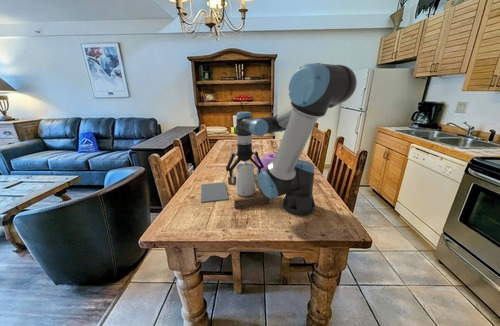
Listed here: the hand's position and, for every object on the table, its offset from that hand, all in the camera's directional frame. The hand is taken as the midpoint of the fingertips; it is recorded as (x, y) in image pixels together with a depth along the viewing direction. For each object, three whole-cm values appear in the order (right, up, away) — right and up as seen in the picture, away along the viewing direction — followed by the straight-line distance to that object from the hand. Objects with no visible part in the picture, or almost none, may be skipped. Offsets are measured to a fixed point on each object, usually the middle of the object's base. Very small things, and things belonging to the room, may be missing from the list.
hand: (245, 181), depth 118 cm
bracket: (0, -7, +2) cm, 7 cm away
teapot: (+15, +2, +28) cm, 32 cm away
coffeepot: (0, -7, +2) cm, 7 cm away
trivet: (-18, -6, +4) cm, 19 cm away
